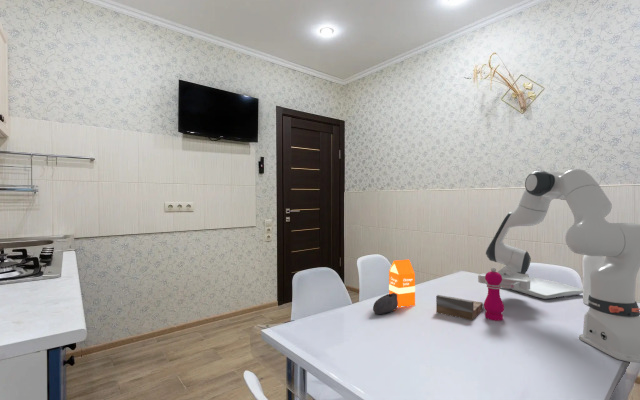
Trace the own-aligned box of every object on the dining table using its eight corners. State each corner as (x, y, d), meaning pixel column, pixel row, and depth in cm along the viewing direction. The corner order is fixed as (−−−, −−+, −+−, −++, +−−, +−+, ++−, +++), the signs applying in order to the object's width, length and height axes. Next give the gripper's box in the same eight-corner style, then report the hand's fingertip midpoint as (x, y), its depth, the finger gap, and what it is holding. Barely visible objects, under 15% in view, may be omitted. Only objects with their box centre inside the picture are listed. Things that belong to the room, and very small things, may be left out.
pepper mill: (499, 315, 132) (498, 266, 132) (507, 321, 125) (507, 269, 125) (480, 314, 132) (480, 265, 133) (488, 321, 125) (487, 269, 125)
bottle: (578, 301, 148) (577, 236, 148) (594, 301, 149) (593, 236, 149) (593, 307, 140) (592, 238, 140) (611, 307, 141) (610, 238, 141)
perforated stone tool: (378, 318, 130) (378, 300, 130) (368, 314, 134) (368, 297, 134) (401, 310, 139) (401, 293, 139) (392, 307, 143) (391, 291, 143)
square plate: (497, 287, 175) (496, 280, 175) (535, 283, 183) (535, 276, 183) (545, 302, 149) (545, 294, 149) (587, 296, 157) (587, 288, 157)
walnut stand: (449, 303, 148) (449, 287, 148) (482, 309, 139) (482, 293, 139) (436, 312, 135) (436, 295, 135) (472, 320, 126) (472, 302, 126)
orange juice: (415, 305, 145) (414, 260, 145) (399, 307, 142) (398, 262, 142) (404, 300, 152) (404, 258, 153) (388, 302, 149) (388, 259, 149)
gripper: (481, 268, 155) (473, 273, 144) (532, 274, 142) (527, 280, 131) (482, 281, 155) (474, 287, 144) (532, 288, 142) (528, 296, 131)
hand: (500, 284), depth 138 cm, fingers open, 8 cm apart
